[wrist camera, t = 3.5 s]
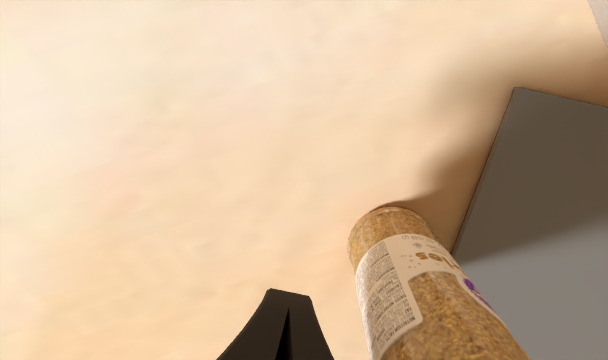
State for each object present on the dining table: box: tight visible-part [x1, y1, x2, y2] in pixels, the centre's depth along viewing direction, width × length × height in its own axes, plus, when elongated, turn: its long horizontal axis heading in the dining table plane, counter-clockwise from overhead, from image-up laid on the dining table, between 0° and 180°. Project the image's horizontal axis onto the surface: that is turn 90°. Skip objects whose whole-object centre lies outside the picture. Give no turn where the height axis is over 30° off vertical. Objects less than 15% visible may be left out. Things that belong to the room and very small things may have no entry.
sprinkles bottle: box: [347, 206, 530, 360], centre depth 11 cm, size 5×5×13 cm
